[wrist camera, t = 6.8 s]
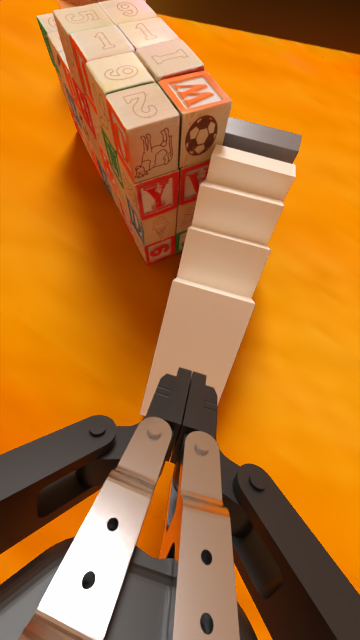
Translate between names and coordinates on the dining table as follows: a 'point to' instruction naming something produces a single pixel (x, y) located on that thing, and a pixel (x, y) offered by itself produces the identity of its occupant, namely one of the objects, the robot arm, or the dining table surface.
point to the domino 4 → (222, 261)
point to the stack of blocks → (139, 113)
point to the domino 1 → (261, 140)
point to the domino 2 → (250, 172)
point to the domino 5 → (199, 335)
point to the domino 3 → (236, 212)
